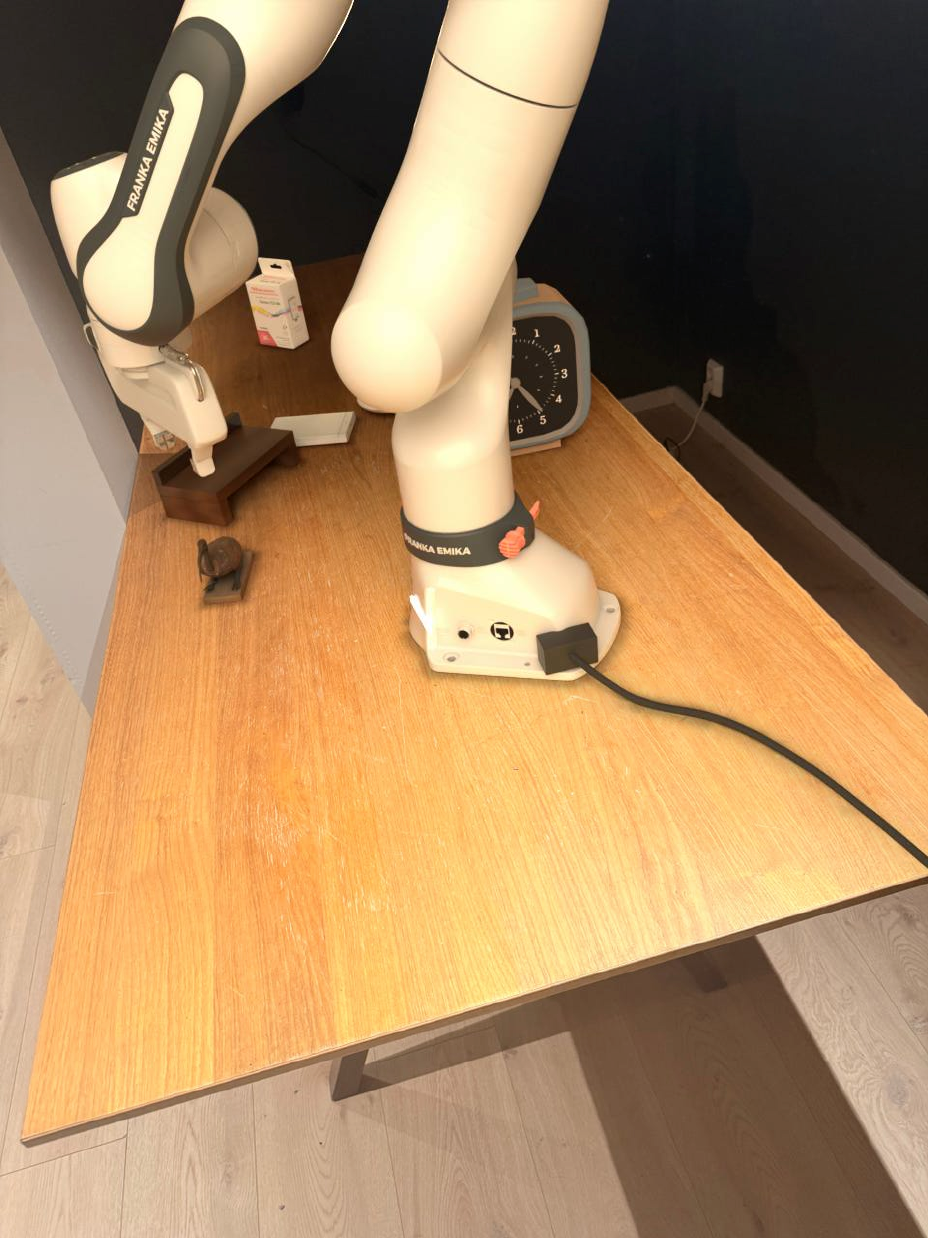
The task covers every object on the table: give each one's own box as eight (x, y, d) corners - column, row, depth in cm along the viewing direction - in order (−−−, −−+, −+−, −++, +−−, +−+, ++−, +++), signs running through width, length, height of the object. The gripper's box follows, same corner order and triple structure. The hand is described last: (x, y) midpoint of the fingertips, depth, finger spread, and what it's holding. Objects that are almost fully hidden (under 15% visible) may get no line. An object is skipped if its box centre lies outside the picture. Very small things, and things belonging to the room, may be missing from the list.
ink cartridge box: (259, 345, 178) (238, 265, 169) (276, 335, 181) (257, 256, 172) (293, 349, 174) (274, 268, 165) (310, 339, 177) (292, 258, 168)
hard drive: (263, 440, 140) (345, 433, 139) (275, 416, 147) (354, 409, 145) (266, 450, 141) (347, 443, 140) (278, 426, 148) (356, 419, 146)
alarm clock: (449, 473, 129) (426, 315, 116) (436, 443, 136) (413, 292, 123) (594, 442, 131) (588, 284, 118) (574, 415, 138) (566, 264, 125)
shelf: (300, 461, 137) (289, 417, 133) (226, 526, 124) (211, 479, 120) (244, 455, 141) (231, 411, 137) (167, 517, 128) (150, 471, 124)
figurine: (236, 622, 107) (214, 558, 101) (197, 627, 107) (173, 563, 102) (254, 554, 118) (236, 493, 113) (219, 558, 118) (199, 498, 113)
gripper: (221, 346, 88) (258, 477, 97) (132, 306, 102) (171, 424, 110) (159, 369, 86) (203, 502, 94) (76, 324, 99) (121, 444, 107)
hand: (185, 459), depth 102 cm, fingers open, 8 cm apart
